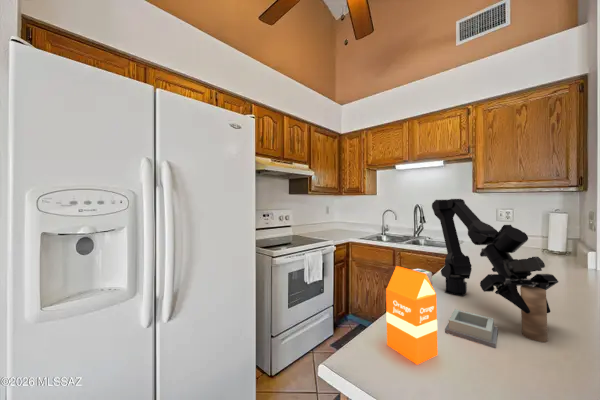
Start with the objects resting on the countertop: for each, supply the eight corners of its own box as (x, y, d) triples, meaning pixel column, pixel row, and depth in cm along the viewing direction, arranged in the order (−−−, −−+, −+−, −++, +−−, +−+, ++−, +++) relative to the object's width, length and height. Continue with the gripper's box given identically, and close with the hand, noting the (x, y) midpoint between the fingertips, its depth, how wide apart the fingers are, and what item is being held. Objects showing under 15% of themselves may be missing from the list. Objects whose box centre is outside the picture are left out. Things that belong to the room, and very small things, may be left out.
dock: (445, 332, 67) (444, 320, 67) (452, 318, 75) (452, 307, 75) (495, 348, 59) (495, 334, 59) (497, 330, 68) (497, 318, 68)
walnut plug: (521, 337, 64) (520, 289, 64) (521, 329, 68) (520, 284, 68) (548, 344, 61) (546, 293, 61) (546, 336, 64) (545, 288, 65)
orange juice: (417, 365, 53) (415, 276, 54) (386, 344, 61) (385, 267, 62) (438, 354, 57) (436, 271, 57) (406, 336, 65) (405, 263, 65)
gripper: (486, 246, 69) (523, 300, 57) (550, 246, 69) (600, 299, 57) (467, 266, 76) (497, 317, 65) (525, 266, 76) (564, 316, 65)
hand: (538, 312), depth 63 cm, fingers closed on walnut plug, 5 cm apart
